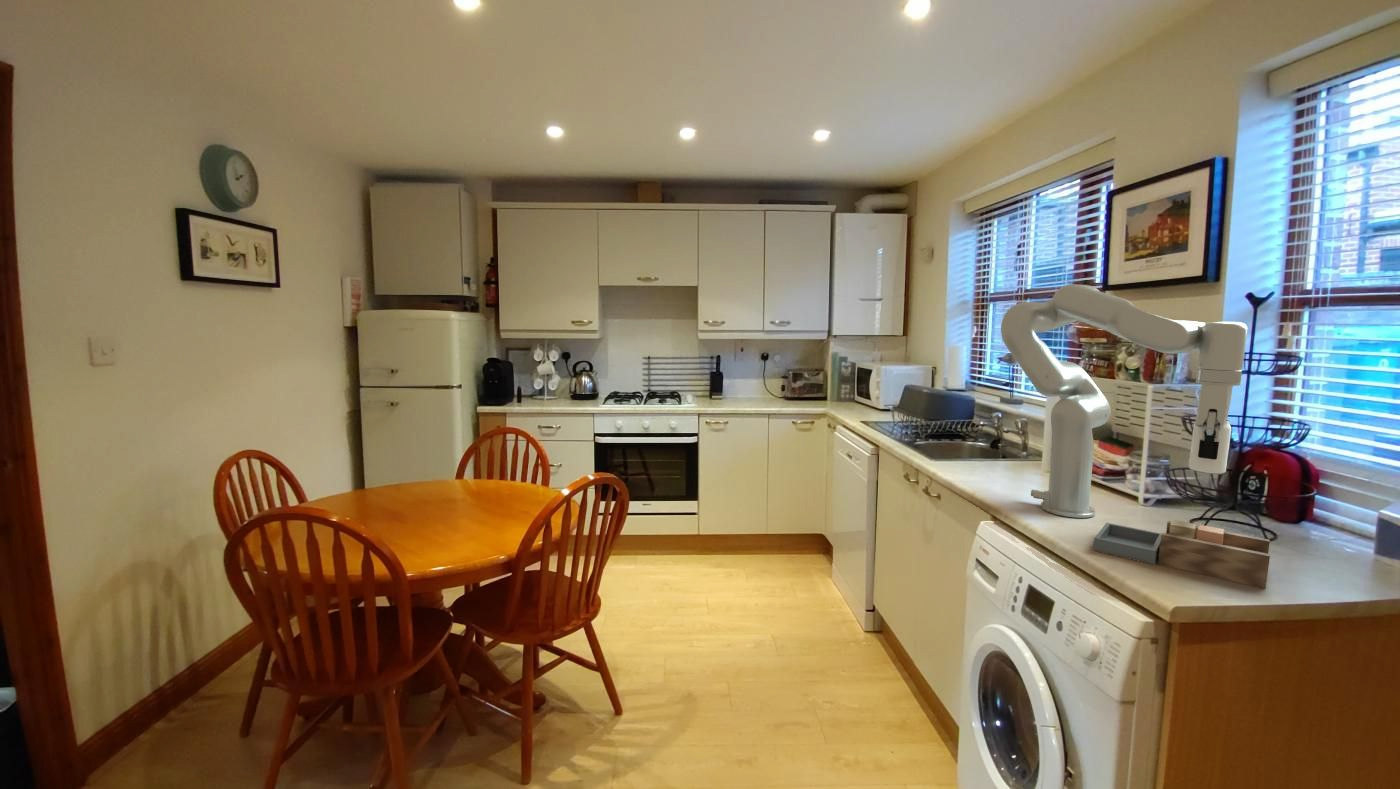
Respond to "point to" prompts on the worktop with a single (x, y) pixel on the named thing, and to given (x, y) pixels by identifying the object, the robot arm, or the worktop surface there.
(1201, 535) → the terracotta block
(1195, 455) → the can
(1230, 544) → the slot block
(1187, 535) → the maple block
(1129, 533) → the tray
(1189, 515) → the worktop surface
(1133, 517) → the worktop surface
